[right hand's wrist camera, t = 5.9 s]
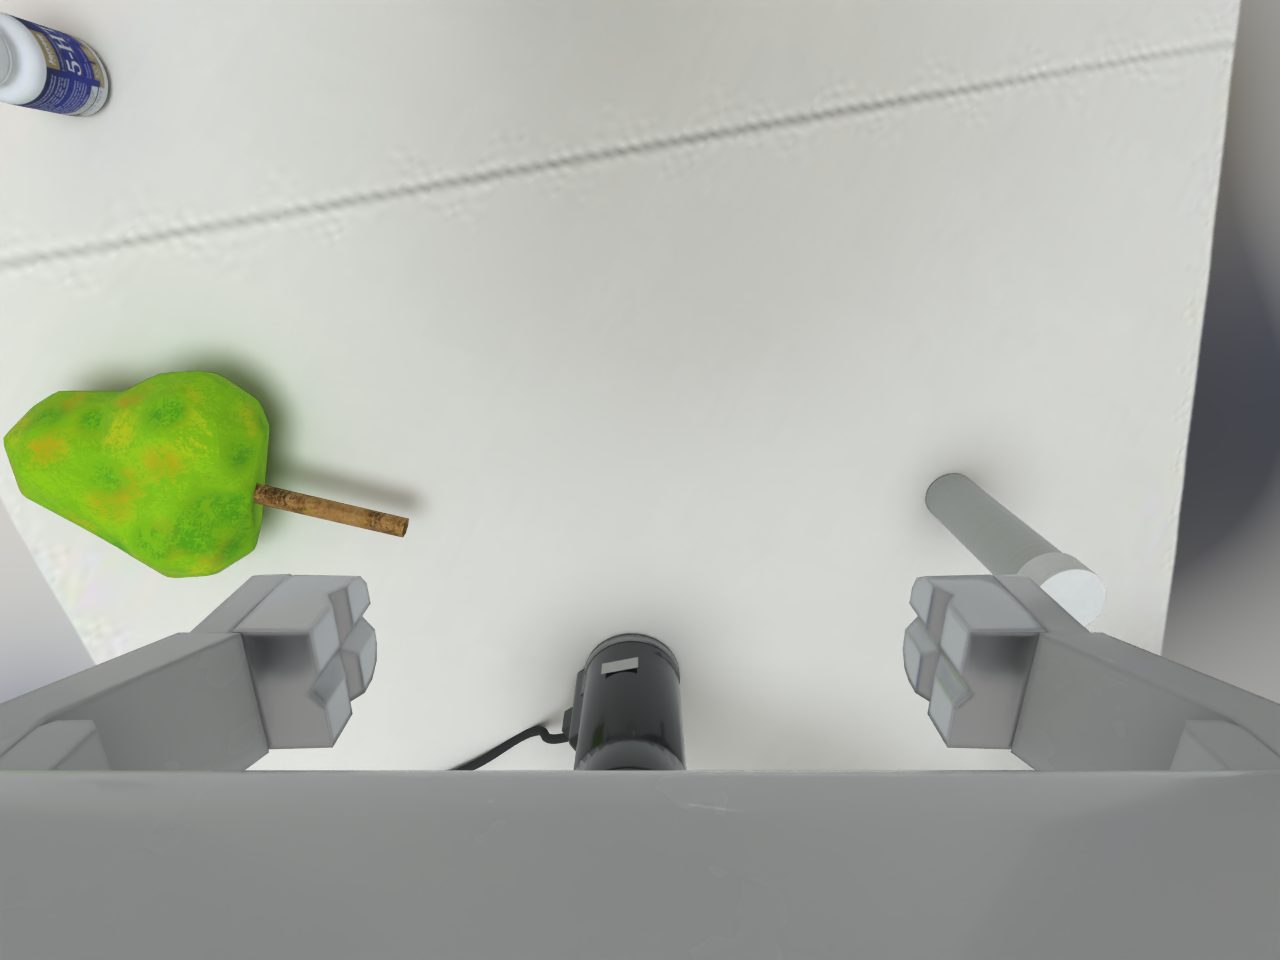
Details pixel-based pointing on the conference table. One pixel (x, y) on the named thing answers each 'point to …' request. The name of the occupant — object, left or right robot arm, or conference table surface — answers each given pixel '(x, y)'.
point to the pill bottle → (49, 70)
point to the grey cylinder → (984, 525)
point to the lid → (1068, 584)
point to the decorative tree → (164, 471)
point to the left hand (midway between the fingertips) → (1171, 785)
